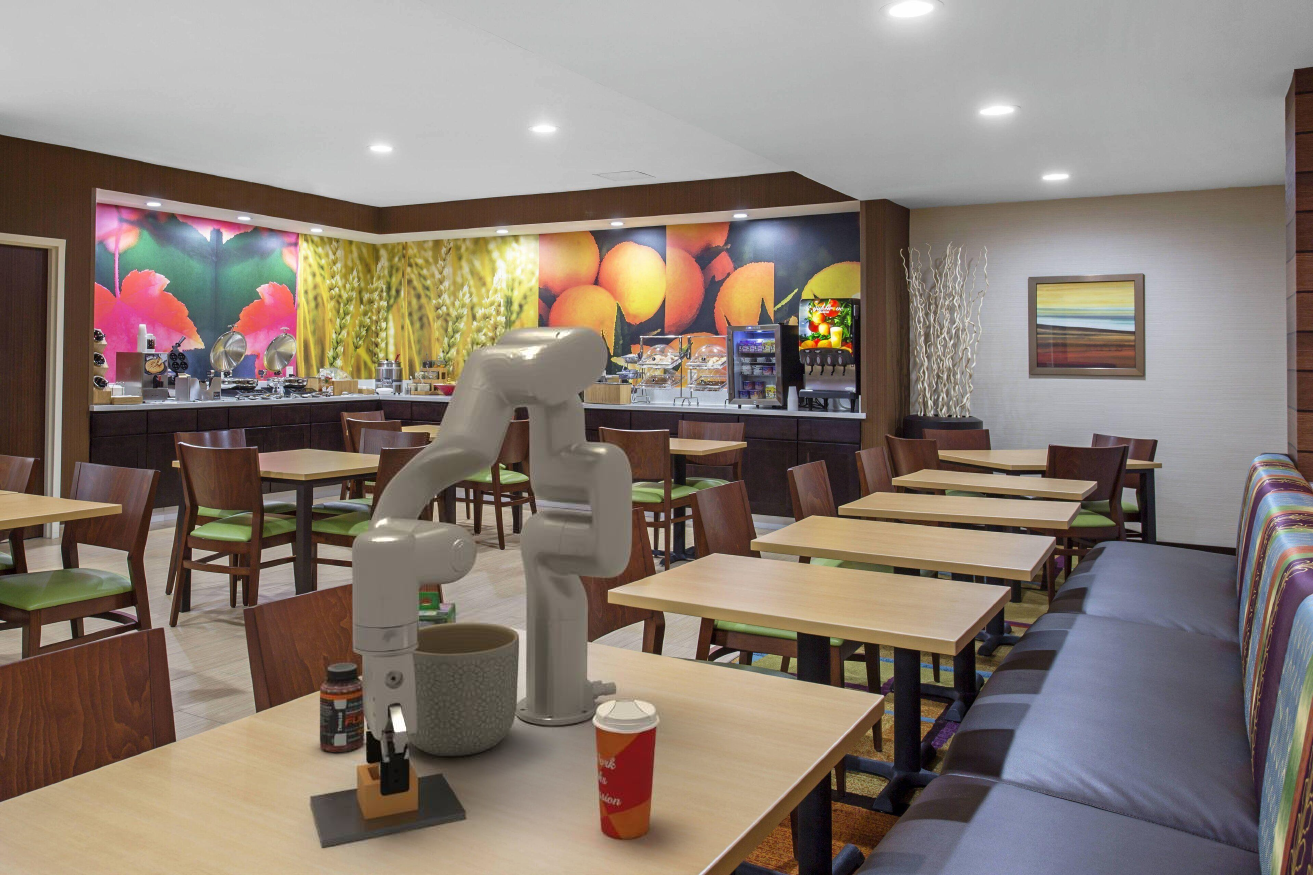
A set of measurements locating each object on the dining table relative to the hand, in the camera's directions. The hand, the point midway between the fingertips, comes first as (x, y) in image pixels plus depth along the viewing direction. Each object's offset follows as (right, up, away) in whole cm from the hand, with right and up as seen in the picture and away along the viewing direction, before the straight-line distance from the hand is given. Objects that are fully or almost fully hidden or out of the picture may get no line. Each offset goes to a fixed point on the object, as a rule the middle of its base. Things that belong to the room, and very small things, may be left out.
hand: (387, 776), depth 110 cm
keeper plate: (0, -4, 0) cm, 4 cm away
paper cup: (+29, -5, -3) cm, 29 cm away
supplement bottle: (-12, -3, +20) cm, 23 cm away
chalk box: (-8, -1, +53) cm, 54 cm away
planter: (+4, -3, +21) cm, 22 cm away
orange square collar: (0, -3, 0) cm, 3 cm away
